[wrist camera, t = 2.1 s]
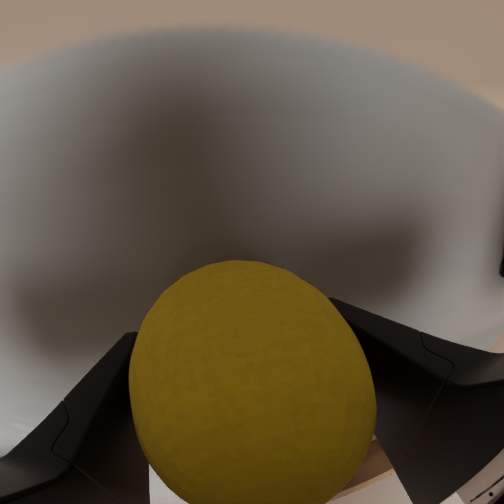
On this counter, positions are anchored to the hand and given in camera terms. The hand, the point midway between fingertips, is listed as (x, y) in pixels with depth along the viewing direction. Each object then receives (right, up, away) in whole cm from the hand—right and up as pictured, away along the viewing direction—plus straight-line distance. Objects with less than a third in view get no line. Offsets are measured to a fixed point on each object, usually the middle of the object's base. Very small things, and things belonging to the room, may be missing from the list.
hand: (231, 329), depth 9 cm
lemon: (0, +1, +2) cm, 2 cm away
